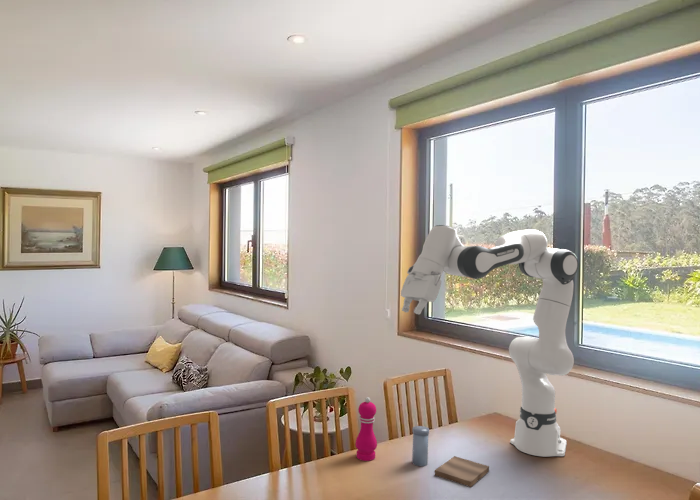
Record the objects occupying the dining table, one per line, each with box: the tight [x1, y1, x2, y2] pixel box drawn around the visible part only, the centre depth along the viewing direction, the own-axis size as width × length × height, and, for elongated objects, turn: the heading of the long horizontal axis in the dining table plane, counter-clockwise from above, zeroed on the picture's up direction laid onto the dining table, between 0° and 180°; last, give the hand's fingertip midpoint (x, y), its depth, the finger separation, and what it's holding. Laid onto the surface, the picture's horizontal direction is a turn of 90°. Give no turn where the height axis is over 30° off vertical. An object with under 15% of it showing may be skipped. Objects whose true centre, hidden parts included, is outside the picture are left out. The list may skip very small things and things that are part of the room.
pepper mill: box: [355, 396, 378, 462], centre depth 172 cm, size 7×7×20 cm
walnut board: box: [434, 455, 490, 488], centre depth 162 cm, size 14×12×2 cm
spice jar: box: [411, 425, 430, 467], centre depth 169 cm, size 5×5×11 cm
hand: (410, 312), depth 159 cm, fingers open, 8 cm apart
